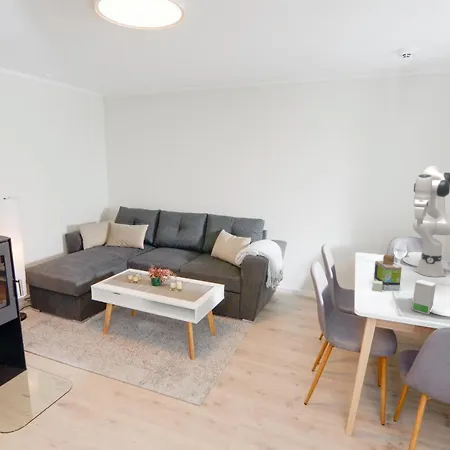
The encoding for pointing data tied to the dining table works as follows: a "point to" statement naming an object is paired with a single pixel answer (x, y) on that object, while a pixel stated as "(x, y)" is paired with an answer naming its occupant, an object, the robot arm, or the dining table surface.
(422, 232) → the robot arm
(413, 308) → the skincare box
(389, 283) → the tea box
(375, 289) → the sage block
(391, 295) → the dining table surface
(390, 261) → the walnut block
